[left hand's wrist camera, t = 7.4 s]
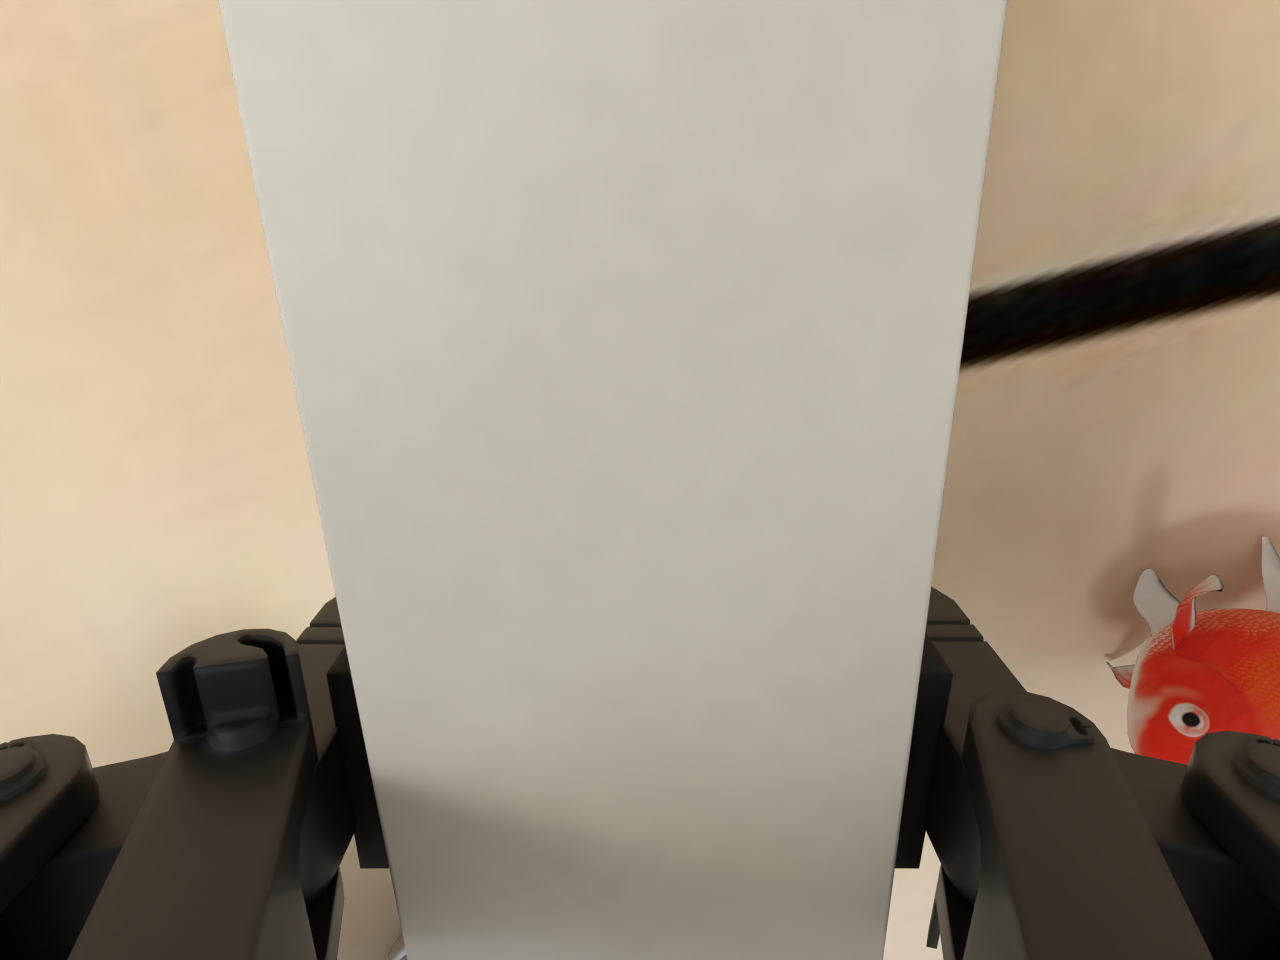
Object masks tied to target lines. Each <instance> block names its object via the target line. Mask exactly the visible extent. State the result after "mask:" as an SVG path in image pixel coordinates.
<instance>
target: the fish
mask: <svg viewBox="0 0 1280 960" xmlns="http://www.w3.org/2000/svg"><path fill="white" fill-rule="evenodd" d="M1262 577H1263V583H1264V588H1265V593H1266V600H1267V609H1266V611H1262V610H1251V609H1235V608H1225V609H1212V610H1203V611H1197V612H1196V609H1195V598H1196V597H1199V596H1201V595H1203V594H1206V593H1208V592H1211V591H1221V592H1222V590H1223V587H1224V586H1223V584H1222V582H1221V580H1220V578H1219V577H1218V575H1216V574H1211V575H1210V576H1209V577H1208V578H1207V579H1205V580H1204V581H1203V582H1201V583H1200V584H1198V585H1197V586H1195V587H1194V588H1192V589H1191V590H1190V591H1189V592H1188V593H1187V594H1186V596H1185V598H1184V600H1183V601H1182V602H1180V601H1179V600H1177V599H1176V598H1175V597H1174V596H1173V595H1172V594H1171V593H1170V592H1169V591H1168V590H1167V589H1166V588H1165V586H1164V585H1163V584H1162V582H1161V580H1160V579H1159V577H1158V575H1157V574H1156V572H1155V571H1154V570H1152V569H1145V570H1144V571H1143V572H1142V574H1141V575H1140V577H1139V580H1138V583H1137V586H1136V589H1135V591H1134V594H1133V595H1134V604H1135V606H1136V608H1137V610H1138V611H1139V612H1140V614H1141V615H1142V616H1143V617H1144V618H1145V619H1146V621H1147V623H1148V624H1149V626H1150V630H1151V634H1152V637H1151V638H1150V639H1149V640H1148V641H1147V642H1146V643H1145V644H1144V645H1143V647H1142V648H1141V650H1140V652H1139V655H1138V657H1137V660H1136V663H1135V665H1128V666H1120V667H1112V666H1111V665H1110V664H1109V663H1108V662H1107V664H1108V665H1109V666H1110V667H1111V669H1112V671H1113V673H1114V675H1115V677H1116V679H1117V680H1118V681H1119V682H1120V684H1121V685H1122V686H1123V687H1125V688H1129V689H1130V691H1129V700H1128V709H1127V722H1128V737H1129V740H1130V744H1131V746H1132V748H1133V750H1134V753H1135V754H1138V755H1142V756H1147V757H1152V758H1157V759H1162V760H1167V761H1171V762H1176V763H1181V764H1186V765H1188V763H1189V760H1190V757H1191V754H1192V751H1193V748H1194V745H1195V742H1196V741H1198V740H1199V739H1200V738H1201V737H1203V736H1204V735H1205V734H1206V733H1213V732H1220V731H1235V732H1243V733H1251V734H1258V735H1262V736H1266V737H1270V739H1273V740H1274V739H1277V740H1280V558H1279V557H1278V555H1277V553H1276V551H1275V549H1274V547H1273V545H1272V543H1271V541H1270V539H1269V538H1268V537H1265V536H1262Z"/></svg>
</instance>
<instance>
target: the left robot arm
mask: <svg viewBox="0 0 1280 960" xmlns="http://www.w3.org/2000/svg"><path fill="white" fill-rule="evenodd" d="M156 675H157V678H158V682H159V686H160V689H161V693H162V697H163V701H164V704H165V708H166V712H167V715H168V719H169V723H170V726H171V730H172V734H173V737H174V741H173V743H172V745H171V747H170V750H169V751H168V752H165V753H161V754H157V755H154V756H149V757H144V758H139V759H134V760H130V761H125V762H120V763H115V764H110V765H106V766H101V767H96V768H92V765H91V762H90V759H89V756H88V753H87V750H86V747H85V745H83V744H82V743H81V742H80V741H78V740H77V739H76V738H75V737H71V736H64V735H57V734H49V735H41V736H34V737H26V738H21V739H17V740H12V741H10V742H9V743H7V742H5V743H2V744H0V960H337V953H338V945H339V937H340V929H341V921H342V913H343V906H344V891H343V883H342V877H341V872H340V867H339V865H340V863H341V861H342V858H343V856H344V854H345V852H346V850H347V847H348V845H349V843H350V841H351V839H352V836H353V834H354V835H355V840H356V846H357V852H358V857H359V863H360V868H389V863H388V858H387V852H386V847H385V842H384V837H383V832H382V827H381V822H380V817H379V812H378V807H377V802H376V797H375V792H374V787H373V782H372V777H371V772H370V766H369V761H368V756H367V751H366V746H365V741H364V736H363V731H362V726H361V721H360V716H359V711H358V706H357V701H356V696H355V691H354V686H353V680H352V675H351V670H350V665H349V660H348V655H347V650H346V645H345V640H344V635H343V630H342V625H341V620H340V615H339V610H338V605H337V600H336V597H335V598H333V599H332V600H330V601H329V602H327V603H326V604H325V605H324V606H323V607H322V609H321V610H320V611H319V613H318V614H317V615H316V616H315V618H314V619H313V620H312V621H311V623H310V627H307V628H306V629H305V630H304V631H303V633H302V634H301V635H300V636H299V638H298V639H297V641H296V640H294V639H293V638H292V637H291V636H289V635H288V634H287V633H285V632H280V631H275V630H271V629H245V630H239V631H234V632H230V633H225V634H220V635H216V636H214V637H211V638H208V639H206V640H203V641H201V642H198V643H195V644H193V645H191V646H189V647H187V648H186V649H184V650H182V651H181V652H179V653H177V654H176V655H174V656H173V657H171V658H169V660H168V661H167V662H166V663H165V664H164V665H163V666H162V667H161V668H160V669H159V670H158V671H157V672H156ZM925 832H927V834H928V836H929V838H930V840H931V843H932V845H933V847H934V849H935V851H936V853H937V856H938V858H939V860H940V862H941V867H940V872H939V877H938V883H937V888H936V893H935V899H934V904H933V909H932V914H931V920H930V925H929V931H928V938H927V946H926V947H931V948H935V949H937V945H938V940H939V935H941V943H942V951H943V959H944V960H1280V740H1277V739H1274V740H1273V739H1270V737H1266V736H1262V735H1258V734H1251V733H1243V732H1235V731H1220V732H1213V733H1206V734H1205V735H1204V736H1203V737H1201V738H1200V739H1199V740H1198V741H1196V742H1195V745H1194V748H1193V751H1192V754H1191V757H1190V760H1189V763H1188V765H1186V764H1181V763H1176V762H1171V761H1167V760H1162V759H1157V758H1152V757H1147V756H1142V755H1138V754H1133V753H1128V752H1124V751H1120V750H1116V749H1113V748H1110V746H1109V744H1108V742H1107V740H1106V738H1105V737H1104V736H1103V735H1102V733H1101V732H1100V731H1099V729H1098V728H1097V727H1096V726H1095V724H1094V723H1093V722H1091V721H1090V720H1089V719H1087V718H1086V717H1084V716H1083V715H1082V714H1080V713H1079V712H1077V711H1076V710H1075V709H1073V708H1071V707H1069V706H1067V705H1065V704H1062V703H1060V702H1058V701H1056V700H1053V699H1051V698H1049V697H1045V696H1041V695H1037V694H1033V693H1029V692H1027V691H1026V690H1025V689H1024V688H1023V686H1022V685H1021V684H1020V683H1019V681H1018V680H1017V679H1016V678H1015V676H1014V675H1013V674H1012V673H1011V671H1010V670H1009V669H1008V668H1007V666H1006V665H1005V664H1004V663H1003V661H1002V660H1001V659H1000V658H999V656H998V655H997V654H996V653H995V651H994V650H993V649H992V648H991V646H990V645H989V644H988V643H987V642H984V641H983V636H982V635H981V634H980V633H979V631H978V630H977V629H976V628H975V626H974V625H970V620H969V619H968V618H967V616H966V615H965V614H964V613H963V611H962V610H961V609H960V608H959V606H958V605H957V604H956V602H955V601H954V600H952V599H950V598H949V597H947V596H946V595H944V594H943V593H941V592H939V591H938V590H936V589H935V588H933V587H931V592H930V599H929V607H928V615H927V623H926V630H925V638H924V646H923V653H922V661H921V669H920V677H919V684H918V692H917V700H916V707H915V715H914V723H913V730H912V738H911V746H910V754H909V761H908V769H907V777H906V784H905V792H904V800H903V807H902V815H901V823H900V831H899V838H898V846H897V854H896V861H895V868H919V866H920V860H921V854H922V849H923V843H924V837H925ZM387 960H408V959H407V954H406V949H405V944H404V939H403V933H402V935H401V936H400V937H399V938H398V940H397V941H396V943H395V944H394V946H393V947H392V949H391V951H390V953H389V955H388V958H387Z"/></svg>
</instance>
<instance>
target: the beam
mask: <svg viewBox="0 0 1280 960" xmlns="http://www.w3.org/2000/svg"><path fill="white" fill-rule="evenodd" d="M218 3H219V8H220V13H221V18H222V23H223V28H224V33H225V38H226V43H227V48H228V53H229V58H230V63H231V68H232V73H233V78H234V83H235V89H236V94H237V99H238V104H239V109H240V114H241V119H242V124H243V129H244V134H245V139H246V144H247V149H248V154H249V159H250V164H251V169H252V175H253V180H254V185H255V190H256V195H257V200H258V205H259V210H260V215H261V220H262V225H263V230H264V235H265V240H266V245H267V250H268V256H269V261H270V266H271V271H272V276H273V281H274V286H275V291H276V296H277V301H278V306H279V311H280V316H281V321H282V326H283V331H284V336H285V342H286V347H287V352H288V357H289V362H290V367H291V372H292V377H293V382H294V387H295V392H296V397H297V402H298V407H299V412H300V417H301V422H302V428H303V433H304V438H305V443H306V448H307V453H308V458H309V463H310V468H311V473H312V478H313V483H314V488H315V493H316V498H317V503H318V508H319V514H320V519H321V524H322V529H323V534H324V539H325V544H326V549H327V554H328V559H329V564H330V569H331V574H332V579H333V584H334V589H335V594H336V600H337V605H338V610H339V615H340V620H341V625H342V630H343V635H344V640H345V645H346V650H347V655H348V660H349V665H350V670H351V675H352V680H353V686H354V691H355V696H356V701H357V706H358V711H359V716H360V721H361V726H362V731H363V736H364V741H365V746H366V751H367V756H368V761H369V766H370V772H371V777H372V782H373V787H374V792H375V797H376V802H377V807H378V812H379V817H380V822H381V827H382V832H383V837H384V842H385V847H386V852H387V858H388V863H389V868H390V873H391V878H392V883H393V888H394V893H395V898H396V903H397V908H398V913H399V918H400V923H401V928H402V933H403V939H404V944H405V949H406V954H407V959H408V960H883V954H884V946H885V938H886V931H887V923H888V915H889V908H890V900H891V892H892V885H893V877H894V869H895V861H896V854H897V846H898V838H899V831H900V823H901V815H902V807H903V800H904V792H905V784H906V777H907V769H908V761H909V754H910V746H911V738H912V730H913V723H914V715H915V707H916V700H917V692H918V684H919V677H920V669H921V661H922V653H923V646H924V638H925V630H926V623H927V615H928V607H929V599H930V592H931V584H932V576H933V569H934V561H935V553H936V546H937V538H938V530H939V522H940V515H941V507H942V499H943V492H944V484H945V476H946V468H947V461H948V453H949V445H950V438H951V430H952V422H953V415H954V407H955V399H956V391H957V384H958V376H959V368H960V361H961V353H962V345H963V338H964V330H965V322H966V314H967V307H968V299H969V291H970V284H971V276H972V268H973V260H974V253H975V245H976V237H977V230H978V222H979V214H980V207H981V199H982V191H983V183H984V176H985V168H986V160H987V153H988V145H989V137H990V129H991V122H992V114H993V106H994V99H995V91H996V83H997V76H998V68H999V60H1000V52H1001V45H1002V37H1003V29H1004V22H1005V14H1006V6H1007V0H218Z"/></svg>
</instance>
